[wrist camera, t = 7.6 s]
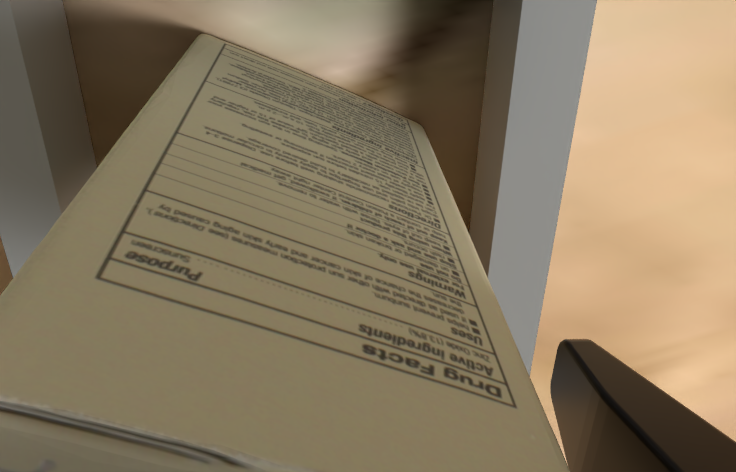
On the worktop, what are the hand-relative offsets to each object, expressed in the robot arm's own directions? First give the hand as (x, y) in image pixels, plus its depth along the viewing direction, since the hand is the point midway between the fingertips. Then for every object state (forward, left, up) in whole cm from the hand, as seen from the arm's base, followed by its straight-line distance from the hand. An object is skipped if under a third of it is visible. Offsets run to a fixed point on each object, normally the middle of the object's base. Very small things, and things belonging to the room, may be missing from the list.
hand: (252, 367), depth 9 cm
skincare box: (0, 0, -9) cm, 9 cm away
